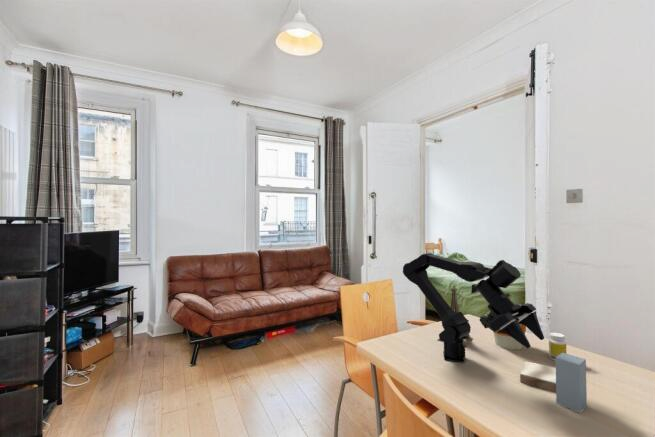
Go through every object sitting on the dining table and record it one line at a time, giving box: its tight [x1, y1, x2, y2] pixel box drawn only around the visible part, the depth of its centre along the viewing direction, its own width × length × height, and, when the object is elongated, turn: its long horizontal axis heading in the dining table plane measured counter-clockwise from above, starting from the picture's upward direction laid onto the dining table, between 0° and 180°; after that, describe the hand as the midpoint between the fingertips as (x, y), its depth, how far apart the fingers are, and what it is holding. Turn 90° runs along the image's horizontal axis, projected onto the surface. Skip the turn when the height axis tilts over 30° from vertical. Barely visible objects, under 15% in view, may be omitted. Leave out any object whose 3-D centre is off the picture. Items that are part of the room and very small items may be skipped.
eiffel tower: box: [436, 284, 474, 348], centre depth 123 cm, size 11×11×25 cm
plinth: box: [519, 360, 556, 392], centre depth 91 cm, size 10×10×2 cm
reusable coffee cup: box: [488, 302, 527, 350], centre depth 117 cm, size 13×12×15 cm
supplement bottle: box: [548, 332, 567, 362], centre depth 105 cm, size 5×5×8 cm
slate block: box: [555, 352, 588, 414], centre depth 80 cm, size 5×5×12 cm
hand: (536, 343), depth 86 cm, fingers open, 9 cm apart
